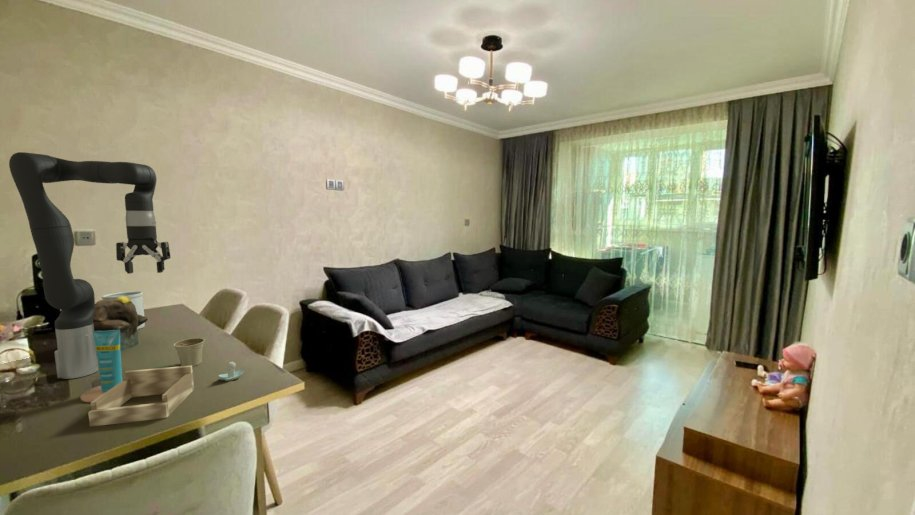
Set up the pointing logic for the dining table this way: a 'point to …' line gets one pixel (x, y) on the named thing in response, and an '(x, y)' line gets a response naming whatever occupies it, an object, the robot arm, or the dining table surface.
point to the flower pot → (190, 351)
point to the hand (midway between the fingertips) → (145, 272)
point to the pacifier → (231, 372)
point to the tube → (108, 358)
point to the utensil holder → (135, 299)
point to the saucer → (92, 394)
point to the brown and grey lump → (119, 319)
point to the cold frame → (143, 383)
